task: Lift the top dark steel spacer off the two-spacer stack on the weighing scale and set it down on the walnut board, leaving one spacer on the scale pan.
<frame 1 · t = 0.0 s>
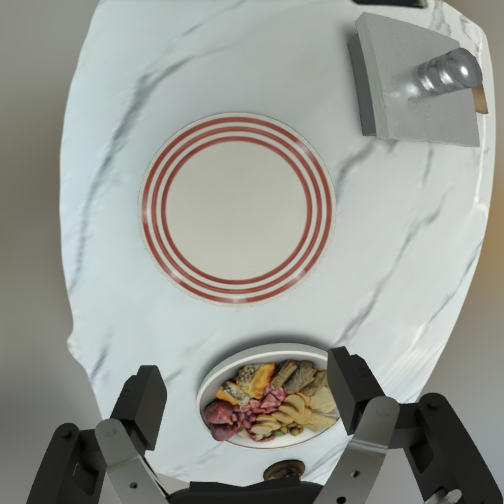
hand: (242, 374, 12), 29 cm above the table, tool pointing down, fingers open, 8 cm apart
scale: (398, 91, 34), on the table
dinner plate: (235, 211, 39), on the table
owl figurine: (283, 470, 60), on the table
scale pan: (425, 81, 27), point 8 cm above the table, slide at 2.0 cm, touching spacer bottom
bowl: (274, 393, 50), on the table
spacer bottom: (432, 78, 25), point 9 cm above the table, touching scale pan, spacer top
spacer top: (449, 73, 21), point 13 cm above the table, touching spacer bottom
walnut board: (459, 78, 33), on the table
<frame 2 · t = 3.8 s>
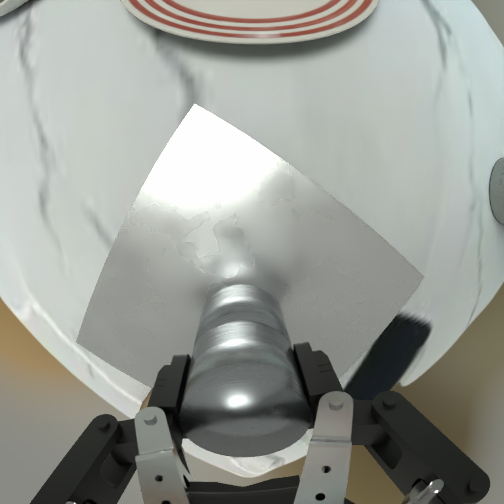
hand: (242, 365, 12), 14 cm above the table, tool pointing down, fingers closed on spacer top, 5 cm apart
scale pan: (242, 309, 18), point 8 cm above the table, slide at 2.0 cm, touching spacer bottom
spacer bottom: (241, 322, 16), point 9 cm above the table, touching scale pan, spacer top
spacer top: (243, 363, 13), point 13 cm above the table, touching gripper, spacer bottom
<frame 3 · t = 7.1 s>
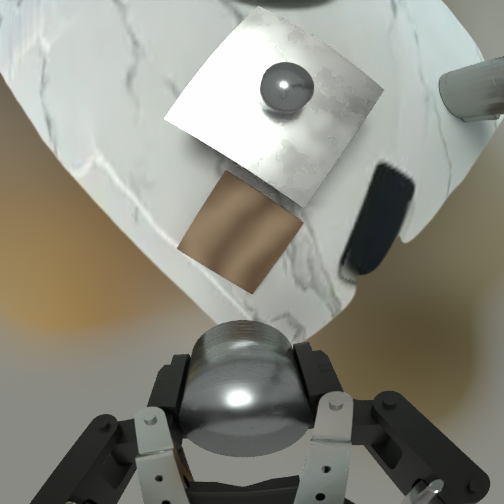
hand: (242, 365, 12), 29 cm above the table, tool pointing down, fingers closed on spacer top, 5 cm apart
scale pan: (279, 98, 27), point 8 cm above the table, slide at 1.5 cm, touching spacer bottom
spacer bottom: (281, 94, 26), point 10 cm above the table, touching scale pan
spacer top: (242, 363, 13), point 29 cm above the table, touching gripper
walnut board: (239, 233, 40), on the table
when the fingers open (3 cm above the table, at t = 10.9 s): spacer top drops 1 cm, resting on walnut board.
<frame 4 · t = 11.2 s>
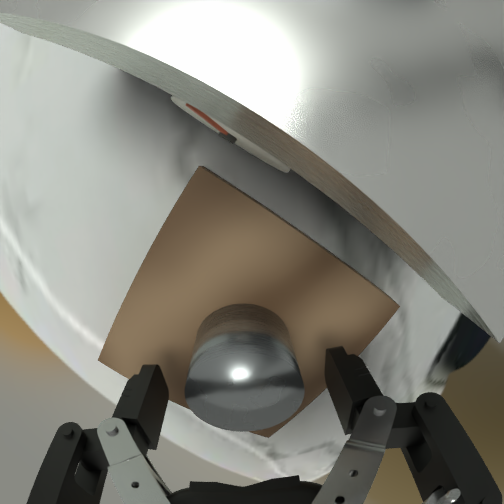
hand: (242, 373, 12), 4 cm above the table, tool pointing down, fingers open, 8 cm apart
scale: (324, 26, 11), on the table
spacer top: (242, 344, 14), point 2 cm above the table, touching walnut board
walnut board: (241, 330, 16), on the table
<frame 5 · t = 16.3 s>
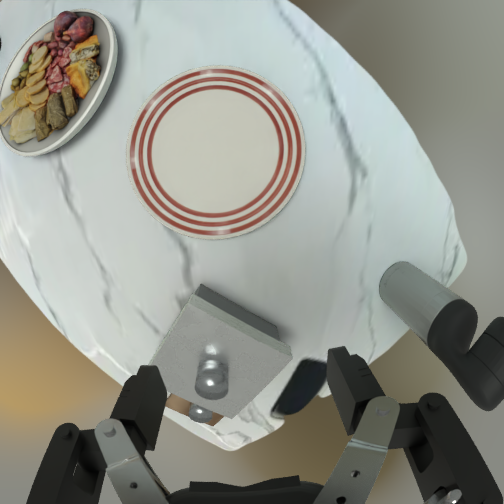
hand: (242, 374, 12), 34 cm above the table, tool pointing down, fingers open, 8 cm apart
scale: (216, 337, 50), on the table
dinner plate: (214, 149, 41), on the table
scale pan: (213, 365, 42), point 8 cm above the table, slide at 1.5 cm, touching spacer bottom
bowl: (58, 82, 35), on the table
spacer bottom: (212, 372, 41), point 10 cm above the table, touching scale pan
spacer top: (201, 403, 54), point 1 cm above the table, touching walnut board
walnut board: (202, 398, 55), on the table
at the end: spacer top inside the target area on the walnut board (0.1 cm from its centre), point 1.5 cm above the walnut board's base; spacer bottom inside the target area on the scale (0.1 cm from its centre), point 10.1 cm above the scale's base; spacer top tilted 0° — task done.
